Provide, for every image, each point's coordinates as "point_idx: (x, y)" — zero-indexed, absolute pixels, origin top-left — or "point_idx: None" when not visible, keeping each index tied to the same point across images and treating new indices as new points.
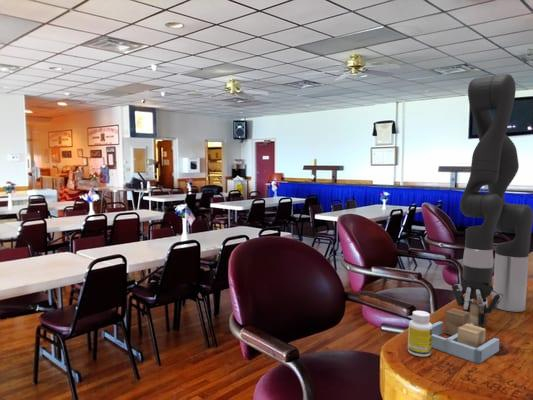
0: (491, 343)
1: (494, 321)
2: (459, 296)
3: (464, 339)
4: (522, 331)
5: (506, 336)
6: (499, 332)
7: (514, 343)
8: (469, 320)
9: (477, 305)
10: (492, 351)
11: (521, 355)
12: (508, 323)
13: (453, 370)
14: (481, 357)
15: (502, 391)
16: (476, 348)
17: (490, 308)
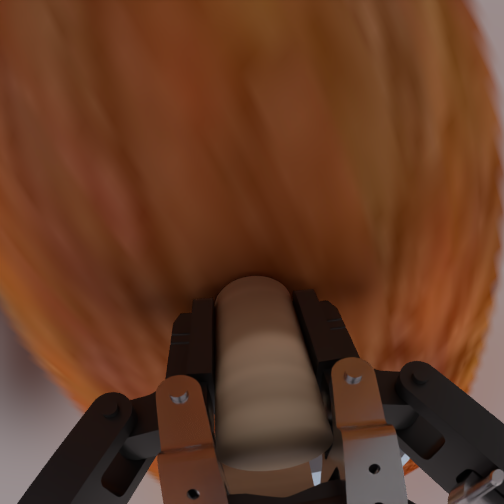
0: (403, 463)
1: (308, 81)
2: (123, 502)
3: None
4: (485, 152)
5: (433, 296)
6: (401, 277)
7: (457, 332)
8: (311, 473)
9: (306, 461)
10: None
11: (462, 381)
12: (397, 48)
13: None
14: None
15: (413, 468)
16: None
17: (414, 438)
